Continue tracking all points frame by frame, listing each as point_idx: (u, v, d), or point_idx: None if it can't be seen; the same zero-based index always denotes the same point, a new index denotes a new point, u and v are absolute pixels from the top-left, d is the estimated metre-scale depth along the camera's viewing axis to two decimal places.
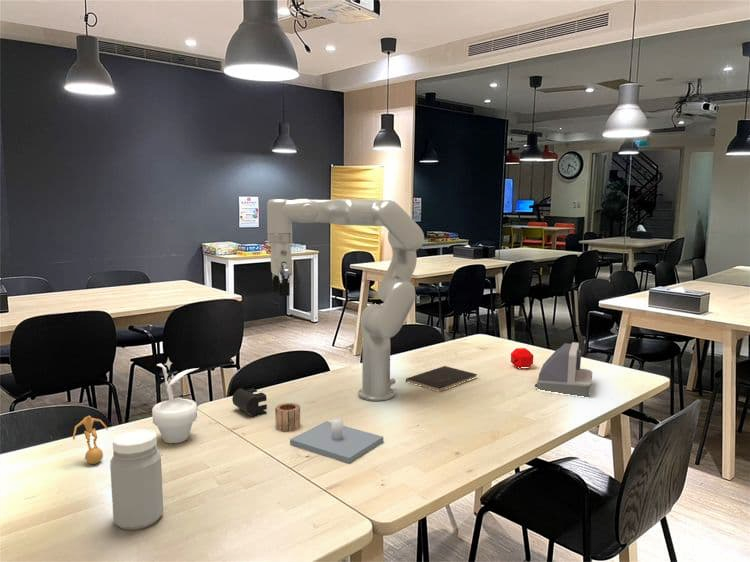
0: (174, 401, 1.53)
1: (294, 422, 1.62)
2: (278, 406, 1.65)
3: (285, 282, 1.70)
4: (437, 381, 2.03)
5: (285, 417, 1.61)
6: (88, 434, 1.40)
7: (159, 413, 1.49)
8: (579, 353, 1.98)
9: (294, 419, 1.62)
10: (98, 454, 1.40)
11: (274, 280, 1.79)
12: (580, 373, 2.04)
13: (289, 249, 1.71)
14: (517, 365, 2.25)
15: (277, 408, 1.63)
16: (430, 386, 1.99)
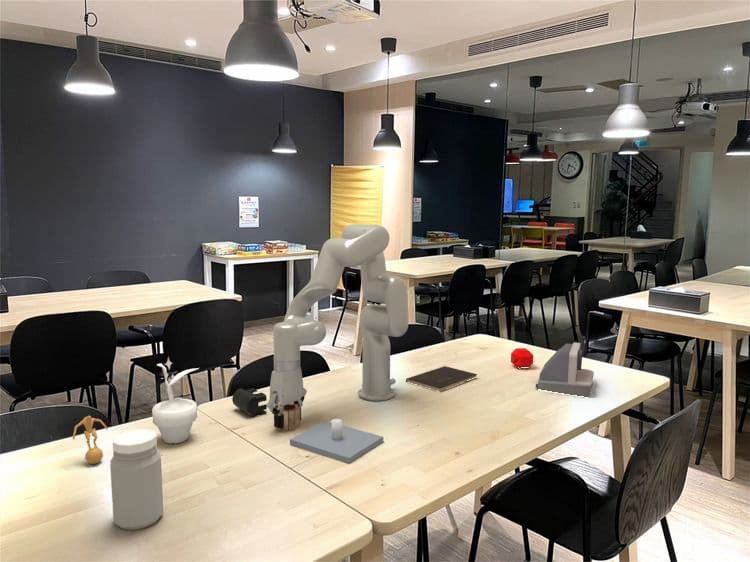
0: (174, 401, 1.53)
1: (294, 422, 1.62)
2: (278, 406, 1.65)
3: None
4: (438, 381, 2.03)
5: (285, 417, 1.61)
6: (88, 434, 1.40)
7: (159, 413, 1.49)
8: (580, 353, 1.98)
9: (294, 419, 1.62)
10: (98, 454, 1.40)
11: None
12: (581, 373, 2.03)
13: None
14: (517, 365, 2.25)
15: (277, 408, 1.63)
16: (430, 386, 1.99)
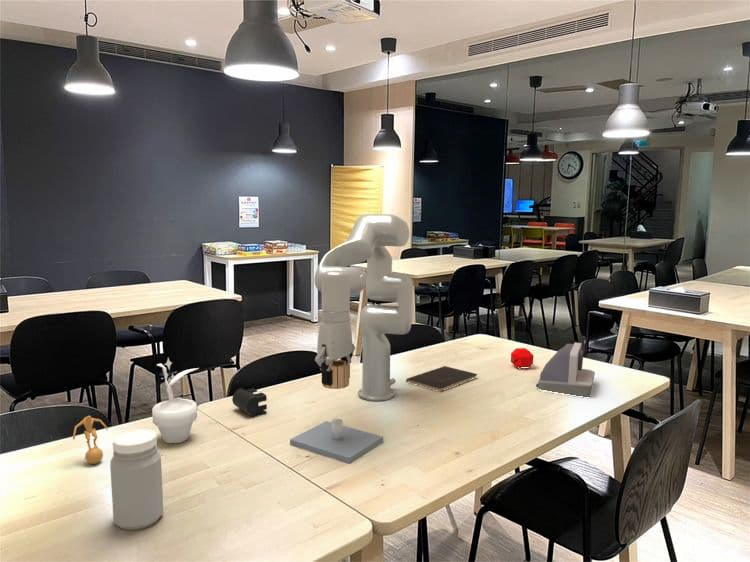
0: (174, 401, 1.53)
1: (343, 379, 1.49)
2: None
3: None
4: (438, 381, 2.03)
5: (334, 373, 1.48)
6: (88, 434, 1.40)
7: (159, 413, 1.49)
8: (581, 353, 1.98)
9: (343, 376, 1.49)
10: (98, 454, 1.40)
11: None
12: (582, 373, 2.03)
13: None
14: (517, 365, 2.25)
15: None
16: (430, 386, 1.99)
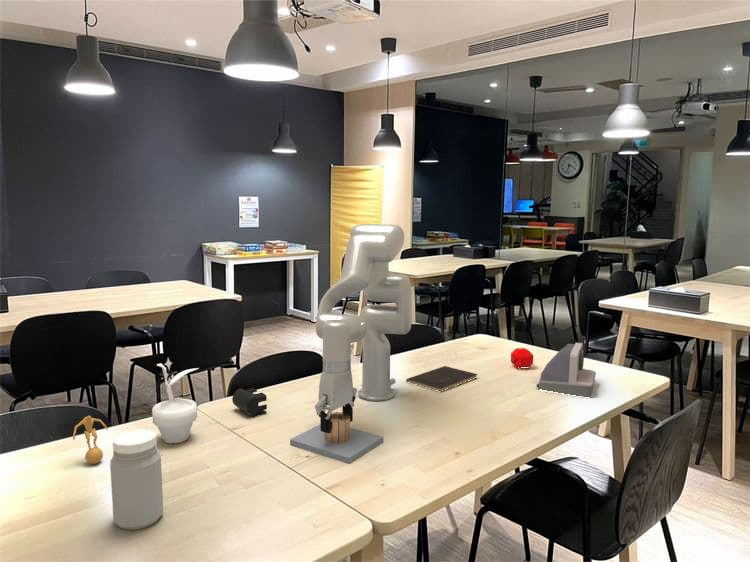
0: (174, 401, 1.53)
1: (344, 434, 1.51)
2: None
3: None
4: (438, 381, 2.03)
5: (335, 428, 1.50)
6: (88, 434, 1.40)
7: (159, 413, 1.49)
8: (581, 353, 1.98)
9: (344, 430, 1.51)
10: (98, 454, 1.40)
11: None
12: (583, 373, 2.03)
13: None
14: (517, 365, 2.25)
15: None
16: (431, 386, 1.99)
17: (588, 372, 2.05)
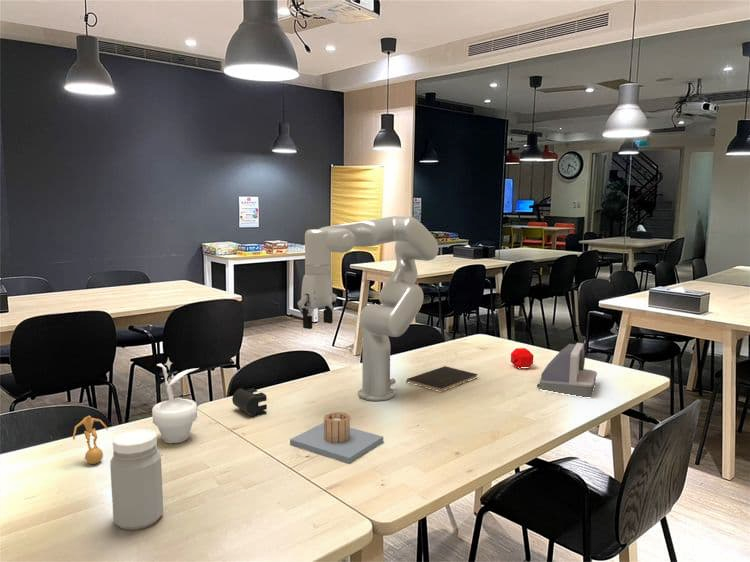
0: (174, 401, 1.53)
1: (344, 434, 1.51)
2: (326, 416, 1.53)
3: None
4: (438, 381, 2.03)
5: (335, 428, 1.50)
6: (88, 434, 1.40)
7: (159, 413, 1.49)
8: (582, 353, 1.98)
9: (344, 430, 1.51)
10: (98, 454, 1.40)
11: None
12: (584, 374, 2.03)
13: None
14: (517, 365, 2.25)
15: (326, 418, 1.52)
16: (431, 386, 1.99)
17: (589, 372, 2.05)
